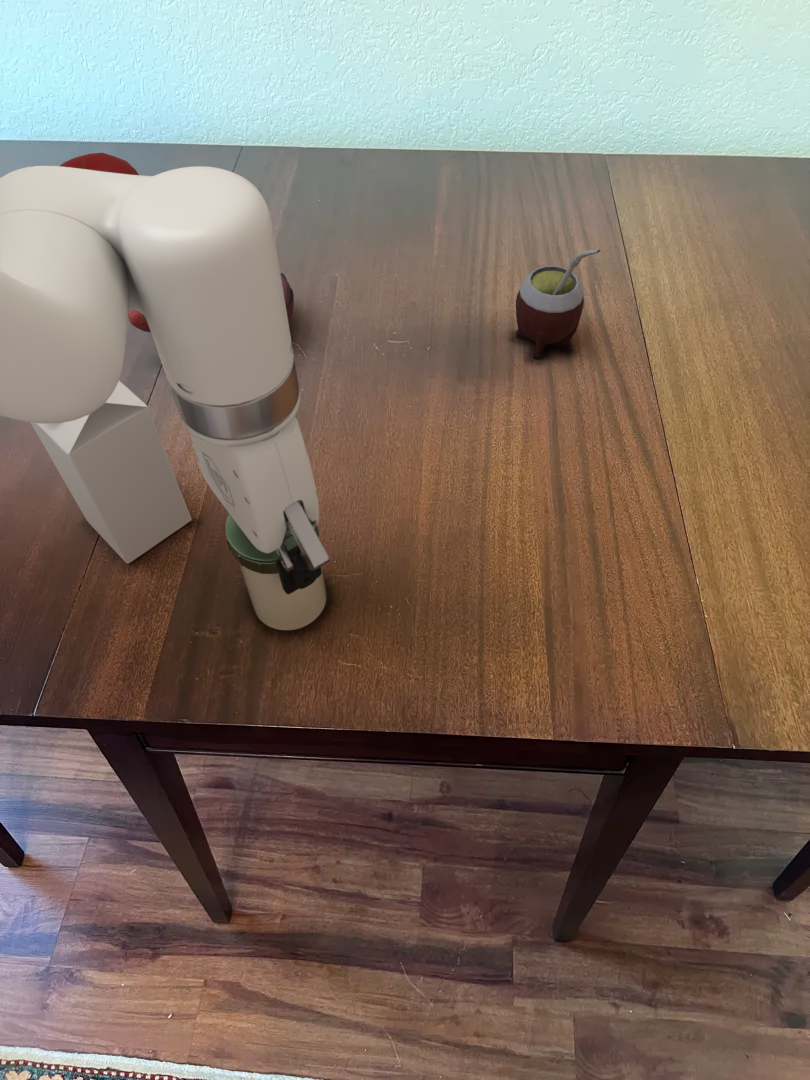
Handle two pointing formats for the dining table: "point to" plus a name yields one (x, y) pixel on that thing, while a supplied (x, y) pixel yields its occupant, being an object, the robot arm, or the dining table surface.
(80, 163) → the apple
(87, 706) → the dining table surface
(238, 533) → the jar lid
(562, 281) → the mate gourd
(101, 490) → the milk carton
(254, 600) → the jar
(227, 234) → the robot arm
